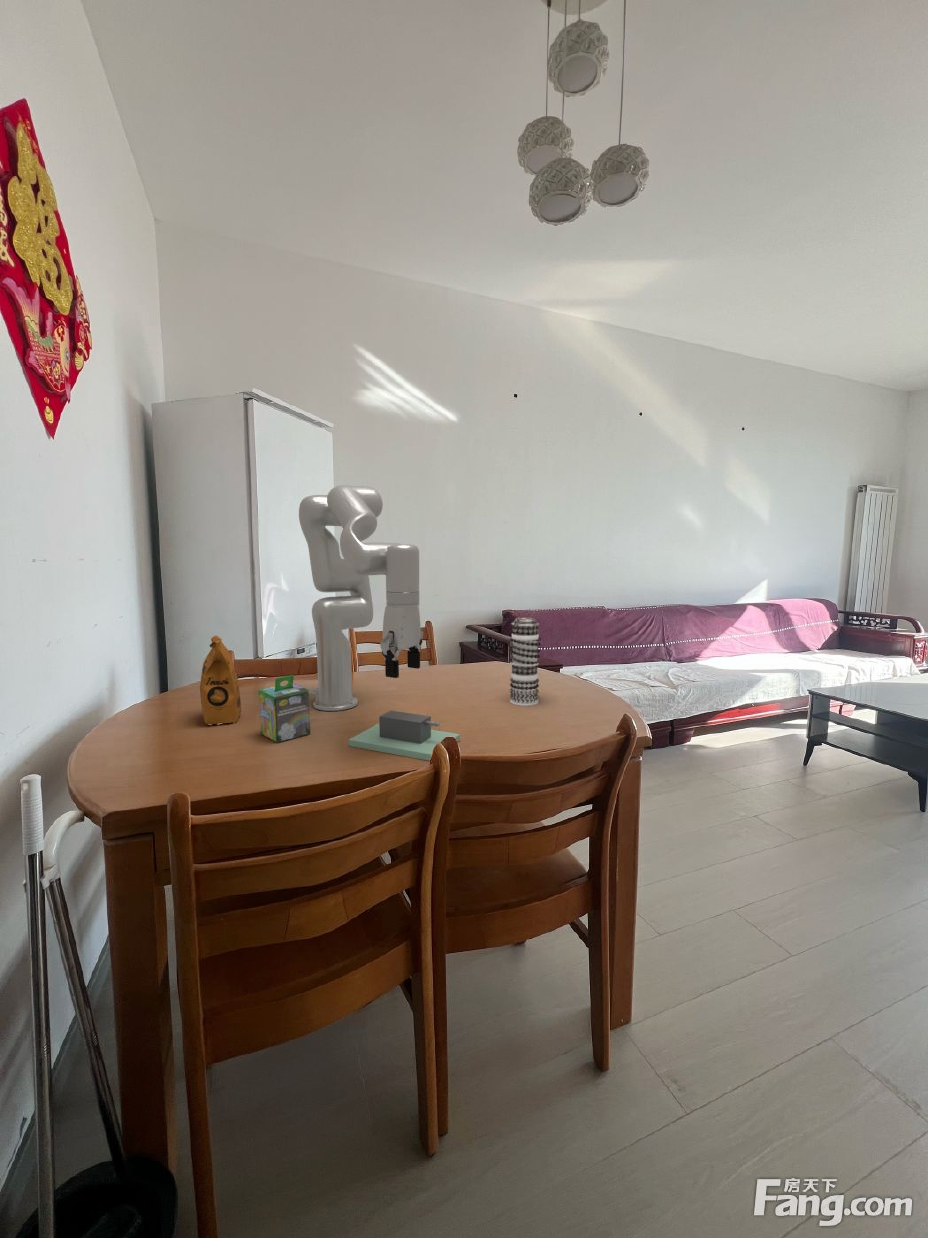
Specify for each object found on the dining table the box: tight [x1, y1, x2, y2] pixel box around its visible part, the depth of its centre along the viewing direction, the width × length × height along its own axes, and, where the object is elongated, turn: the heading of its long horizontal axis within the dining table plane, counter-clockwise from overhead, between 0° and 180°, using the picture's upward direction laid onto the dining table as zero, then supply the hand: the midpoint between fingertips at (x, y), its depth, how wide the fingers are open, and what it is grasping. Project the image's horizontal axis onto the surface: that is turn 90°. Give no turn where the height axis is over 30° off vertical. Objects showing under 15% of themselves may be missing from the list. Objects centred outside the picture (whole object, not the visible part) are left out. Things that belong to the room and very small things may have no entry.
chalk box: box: [257, 674, 311, 744], centre depth 132 cm, size 9×9×15 cm
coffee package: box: [199, 635, 242, 725], centre depth 144 cm, size 10×12×22 cm
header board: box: [348, 723, 461, 762], centre depth 127 cm, size 22×14×4 cm, turn 66°
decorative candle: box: [509, 617, 542, 707], centre depth 159 cm, size 9×9×25 cm
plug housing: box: [378, 710, 440, 744], centre depth 126 cm, size 14×5×5 cm, turn 66°
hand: (403, 672), depth 125 cm, fingers open, 9 cm apart
